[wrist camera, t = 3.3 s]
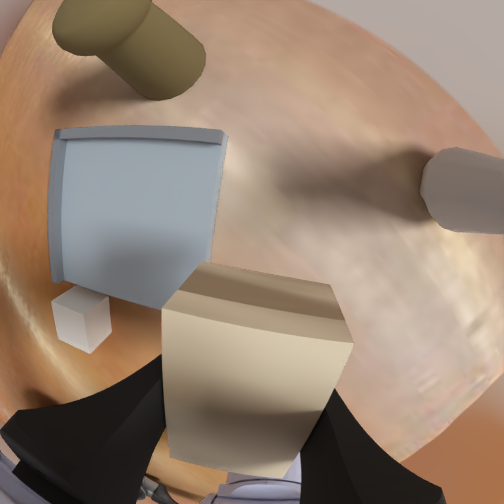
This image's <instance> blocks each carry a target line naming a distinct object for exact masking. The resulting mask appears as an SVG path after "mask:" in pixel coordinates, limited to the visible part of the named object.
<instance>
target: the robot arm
mask: <svg viewBox="0 0 504 504" xmlns="http://www.w3.org/2000/svg"><path fill="white" fill-rule="evenodd" d="M165 428H166V417H165V405H164V390H163V371H162V354H160V355H159V356H158V357H156V358H155V359H154V360H152V361H151V362H149V363H148V364H147V365H145V366H144V367H142V368H141V369H139V370H138V371H136V372H135V373H133V374H132V375H130V376H129V377H127V378H125V379H123V380H122V381H120V382H118V383H117V384H115V385H113V386H111V387H109V388H107V389H105V390H103V391H100V392H98V393H96V394H94V395H91V396H88V397H86V398H83V399H80V400H76V401H73V402H70V403H66V404H62V405H57V406H52V407H46V408H38V409H27V410H18V411H17V412H16V413H15V414H14V415H13V416H12V417H11V418H10V419H9V421H8V422H7V423H6V424H5V425H4V426H3V427H2V428H1V430H0V434H1V436H2V438H3V439H4V440H5V442H6V443H7V445H8V446H9V447H10V448H11V450H12V451H13V452H14V453H15V454H16V456H17V457H18V458H19V459H20V461H19V463H18V464H17V465H15V464H14V463H13V462H12V461H10V460H9V459H8V458H7V457H6V456H5V455H4V454H3V453H2V452H1V450H0V504H136V501H137V498H138V494H139V491H140V488H141V485H142V482H143V479H144V476H145V473H146V470H147V467H148V465H149V462H150V459H151V456H152V454H153V451H154V449H155V447H156V445H157V443H158V441H159V439H160V437H161V435H162V433H163V431H164V430H165ZM199 504H446V501H445V497H444V494H443V491H442V489H441V487H439V486H437V485H434V484H432V483H430V482H428V481H426V480H424V479H422V478H421V477H419V476H417V475H416V474H414V473H412V472H411V471H409V470H408V469H406V468H405V467H403V466H402V465H401V464H399V463H398V462H397V461H396V460H394V459H393V458H392V457H391V456H389V455H388V454H387V453H386V452H385V451H384V450H383V449H382V448H381V447H380V446H379V445H378V444H377V443H376V442H375V441H374V440H373V439H372V438H371V437H370V436H369V435H368V434H367V433H366V432H365V430H364V429H363V428H362V427H361V425H360V424H359V423H358V422H357V420H356V419H355V418H354V416H353V415H352V413H351V412H350V411H349V409H348V408H347V406H346V405H345V403H344V402H343V400H342V399H341V397H340V396H339V394H338V392H337V391H336V389H335V388H334V390H333V392H332V394H331V396H330V398H329V400H328V402H327V404H326V406H325V408H324V410H323V411H322V413H321V415H320V417H319V419H318V421H317V423H316V424H315V426H314V428H313V430H312V432H311V433H310V435H309V437H308V439H307V440H306V442H305V444H304V445H303V447H302V449H301V450H300V452H299V454H298V455H297V457H296V458H295V460H294V461H293V463H292V465H291V466H290V468H289V469H288V471H287V472H286V474H285V475H284V477H283V478H282V479H281V478H270V477H260V476H253V475H245V474H239V473H233V472H228V476H227V481H226V485H225V484H220V485H219V490H218V494H217V493H210V494H209V495H207V496H206V497H205V498H204V499H202V500H201V501H200V503H199Z"/></svg>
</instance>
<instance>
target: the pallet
mask: <svg viewBox="0 0 504 504" xmlns="http://www.w3.org/2000/svg"><path fill="white" fill-rule="evenodd" d="M353 345H354V342H353V339H352V337H351V334H350V331H349V329H348V326H347V324H346V321H345V319H344V317H343V314H342V312H341V309H340V307H339V304H338V302H337V300H336V297H335V295H334V293H333V290H332V288H331V286H330V285H329V284H323V283H317V282H312V281H306V280H300V279H295V278H289V277H284V276H278V275H273V274H268V273H262V272H257V271H252V270H246V269H241V268H236V267H231V266H225V265H220V264H215V263H210V262H205V261H202V262H201V263H200V264H199V266H198V267H197V268H196V269H195V270H194V271H193V272H192V274H191V275H190V276H189V277H188V278H187V279H186V280H185V282H184V283H183V284H182V285H181V286H180V287H179V288H178V290H177V291H176V292H175V293H174V294H173V295H172V297H171V298H170V299H169V300H168V301H167V302H166V303H165V305H164V306H163V307H162V371H163V390H164V405H165V417H166V428H167V437H168V446H169V454H170V457H171V458H174V459H177V460H181V461H184V462H188V463H192V464H196V465H200V466H204V467H208V468H213V469H217V470H222V471H228V472H233V473H239V474H245V475H253V476H260V477H270V478H281V479H282V478H283V477H284V475H285V474H286V472H287V471H288V469H289V468H290V466H291V465H292V463H293V461H294V460H295V458H296V457H297V455H298V454H299V452H300V450H301V449H302V447H303V445H304V444H305V442H306V440H307V439H308V437H309V435H310V433H311V432H312V430H313V428H314V426H315V424H316V423H317V421H318V419H319V417H320V415H321V413H322V411H323V410H324V408H325V406H326V404H327V402H328V400H329V398H330V396H331V394H332V392H333V390H334V388H335V386H336V383H337V381H338V379H339V377H340V375H341V373H342V371H343V368H344V366H345V364H346V362H347V359H348V357H349V355H350V352H351V350H352V347H353Z"/></svg>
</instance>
